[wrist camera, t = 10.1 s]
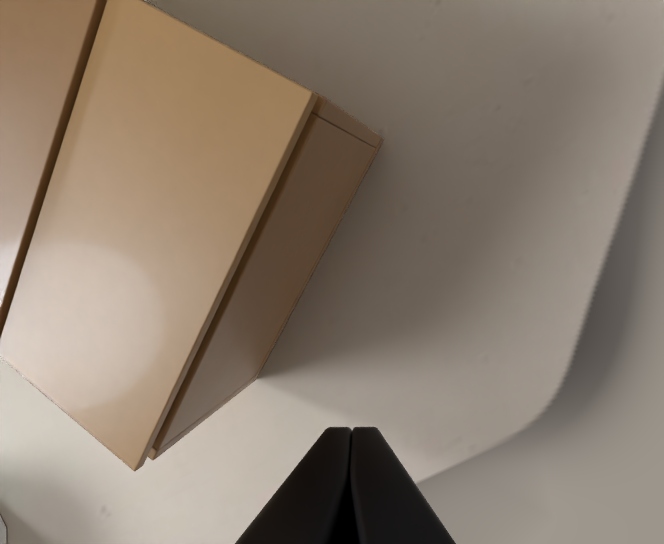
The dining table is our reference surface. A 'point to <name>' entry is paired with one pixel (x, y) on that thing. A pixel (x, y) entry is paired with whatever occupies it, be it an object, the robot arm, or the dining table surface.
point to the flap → (146, 220)
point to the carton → (264, 246)
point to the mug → (2, 532)
